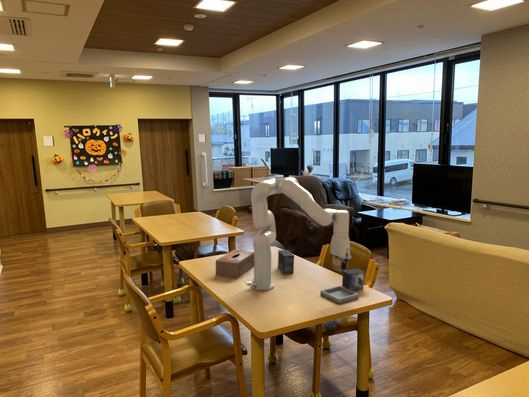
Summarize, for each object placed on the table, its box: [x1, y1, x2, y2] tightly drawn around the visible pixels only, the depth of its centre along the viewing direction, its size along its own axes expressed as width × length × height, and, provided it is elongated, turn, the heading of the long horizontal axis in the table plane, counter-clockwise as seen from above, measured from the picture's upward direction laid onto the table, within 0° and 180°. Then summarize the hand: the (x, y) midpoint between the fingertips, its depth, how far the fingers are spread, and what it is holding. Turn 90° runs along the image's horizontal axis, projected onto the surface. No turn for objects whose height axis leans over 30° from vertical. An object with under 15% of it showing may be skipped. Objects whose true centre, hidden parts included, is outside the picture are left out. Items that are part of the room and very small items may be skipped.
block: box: [331, 256, 349, 272], centre depth 200 cm, size 6×6×6 cm
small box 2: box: [341, 268, 365, 292], centre depth 213 cm, size 11×6×10 cm, turn 117°
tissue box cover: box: [215, 249, 254, 280], centre depth 241 cm, size 26×14×10 cm, turn 158°
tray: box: [319, 285, 359, 305], centre depth 203 cm, size 14×14×2 cm
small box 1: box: [277, 249, 295, 275], centre depth 242 cm, size 13×7×12 cm, turn 14°
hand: (339, 267), depth 201 cm, fingers closed on block, 5 cm apart
